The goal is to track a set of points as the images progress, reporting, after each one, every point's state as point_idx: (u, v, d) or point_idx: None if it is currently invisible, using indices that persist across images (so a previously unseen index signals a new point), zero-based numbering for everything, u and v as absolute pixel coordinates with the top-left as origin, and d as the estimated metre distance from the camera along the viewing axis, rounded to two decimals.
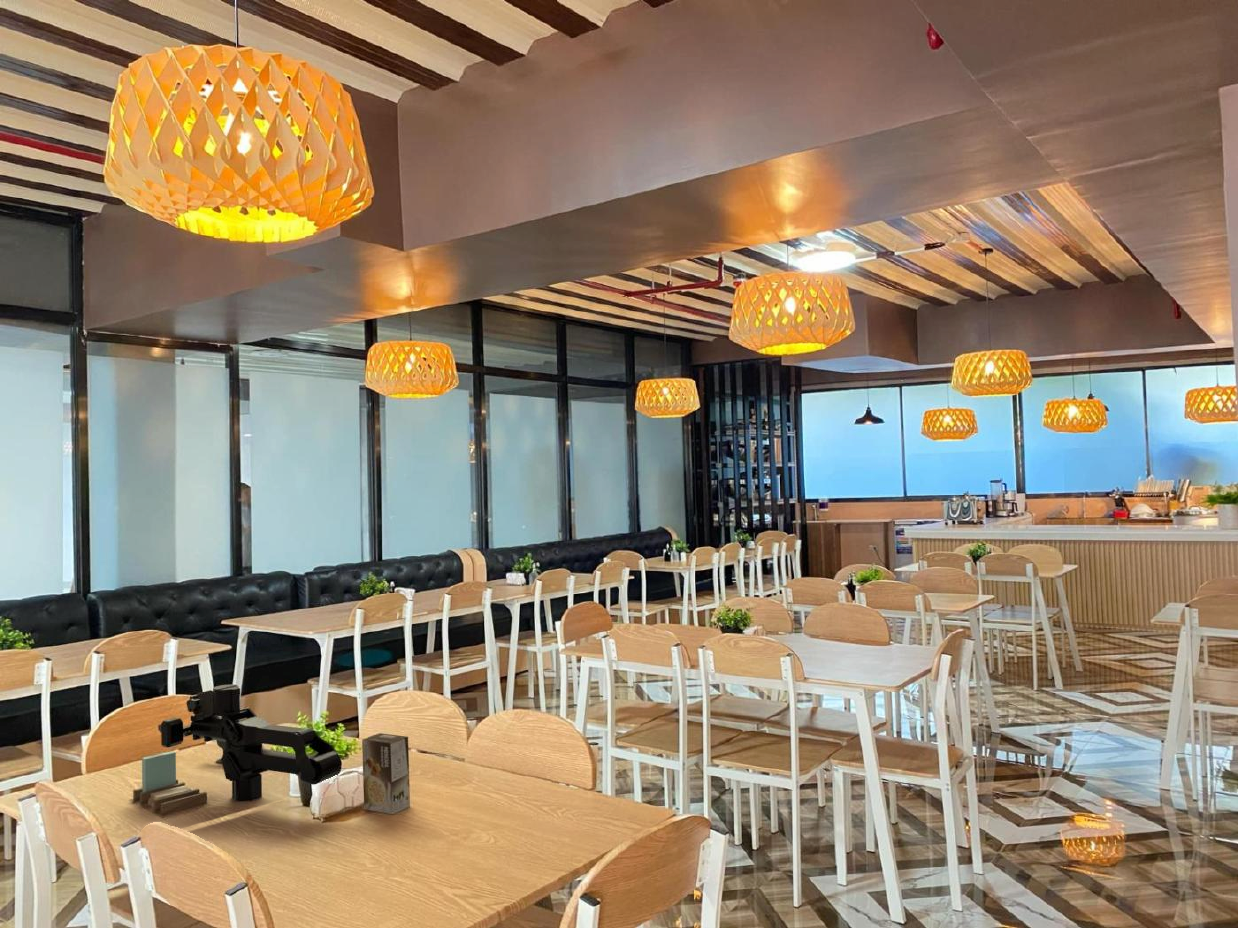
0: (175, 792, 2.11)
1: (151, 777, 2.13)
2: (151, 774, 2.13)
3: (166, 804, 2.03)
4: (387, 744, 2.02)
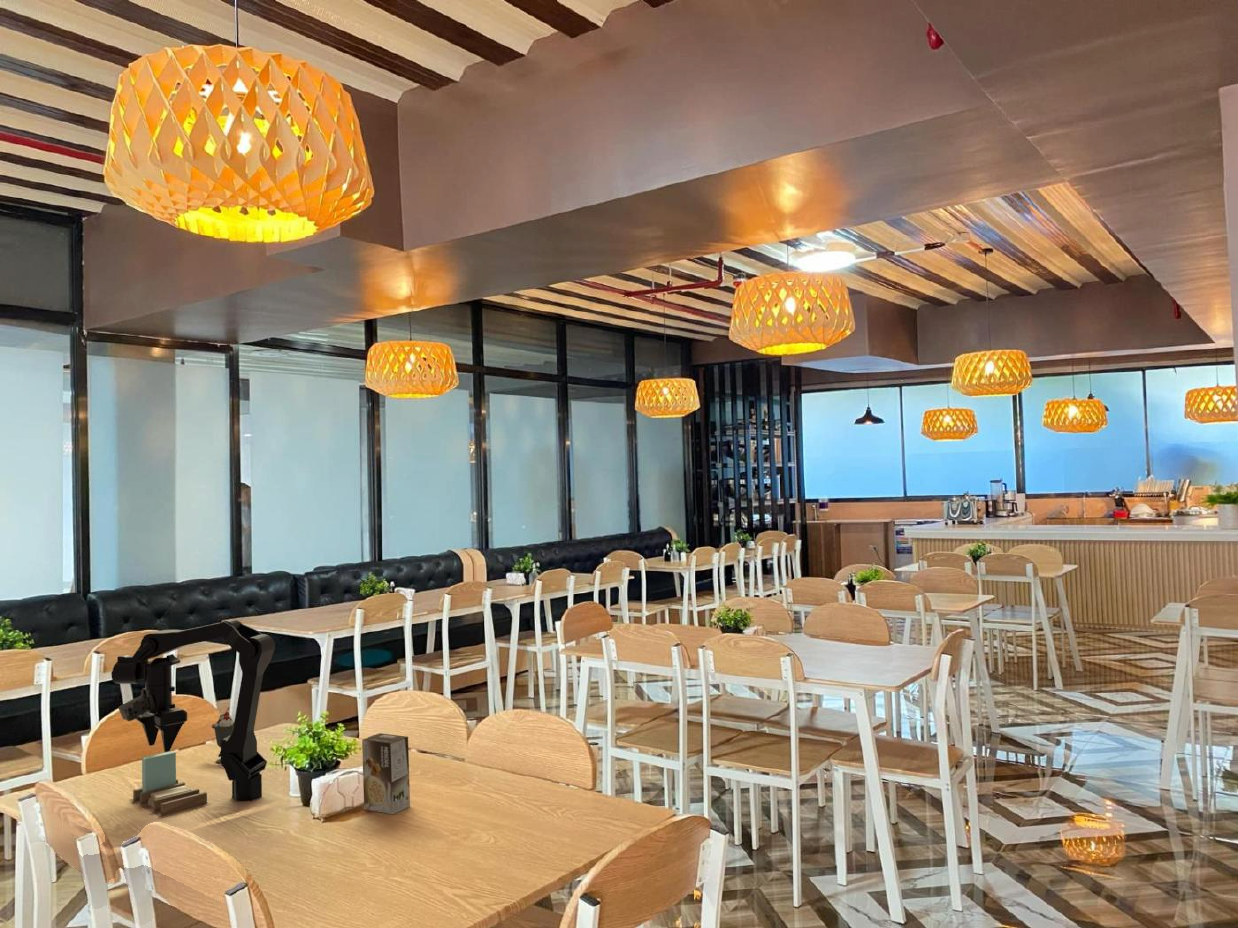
0: (175, 792, 2.11)
1: (151, 777, 2.13)
2: (151, 774, 2.13)
3: (166, 804, 2.03)
4: (387, 744, 2.02)
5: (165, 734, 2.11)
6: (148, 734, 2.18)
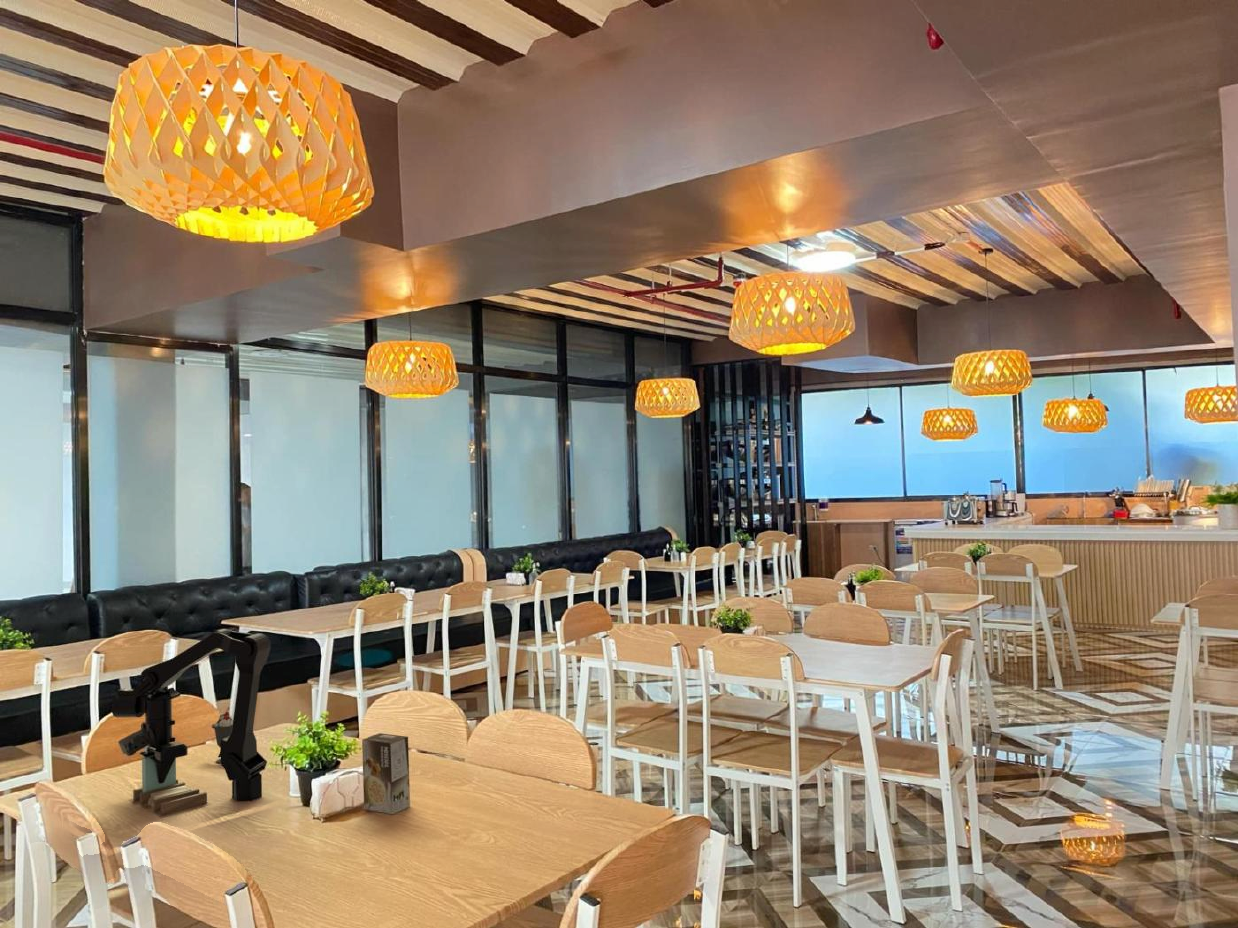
0: (175, 792, 2.11)
1: (151, 777, 2.13)
2: (151, 774, 2.13)
3: (166, 804, 2.03)
4: (387, 744, 2.02)
5: (159, 766, 2.13)
6: None
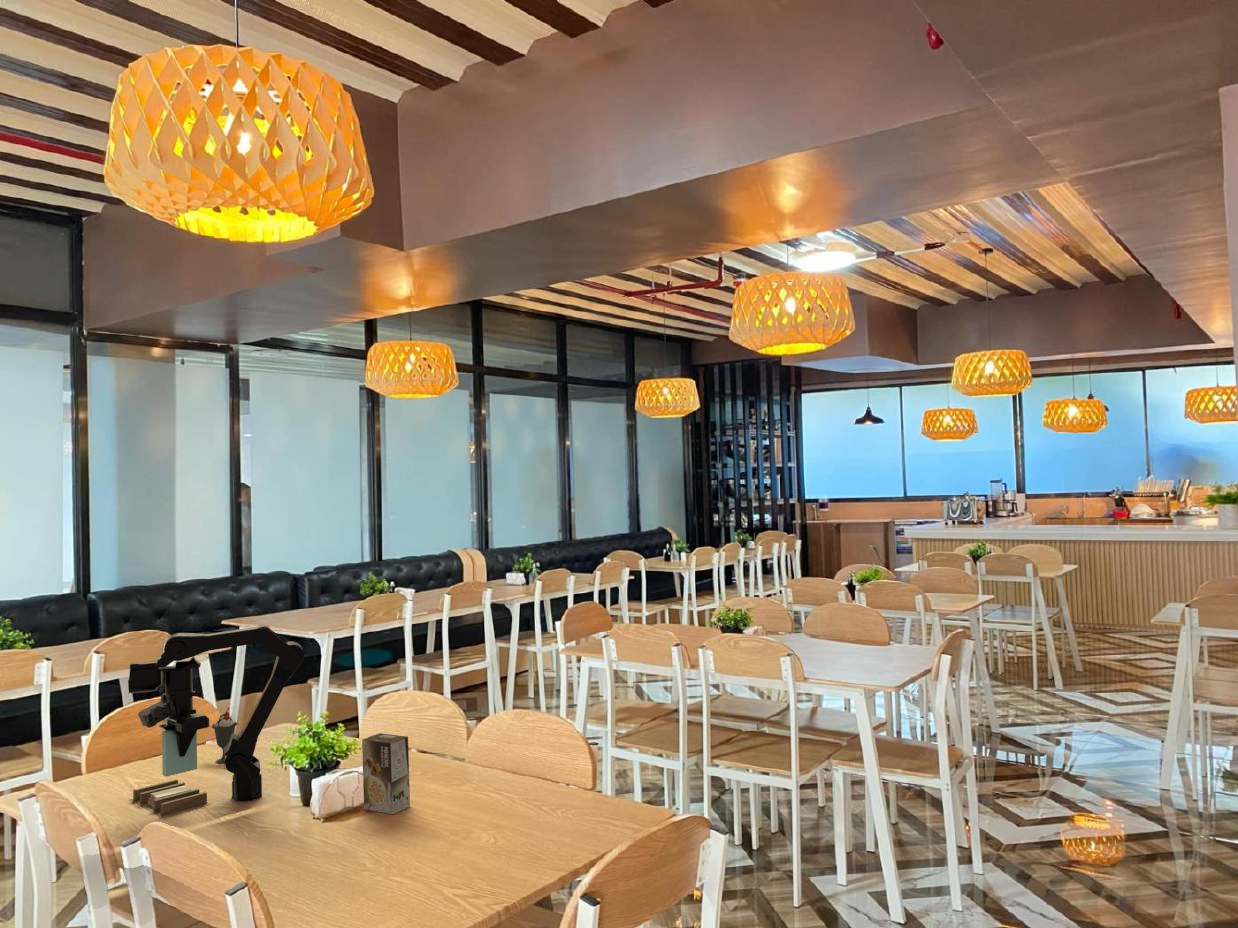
0: (175, 792, 2.11)
1: (171, 751, 2.06)
2: (171, 748, 2.06)
3: (166, 804, 2.03)
4: (387, 744, 2.02)
5: (180, 739, 2.06)
6: None
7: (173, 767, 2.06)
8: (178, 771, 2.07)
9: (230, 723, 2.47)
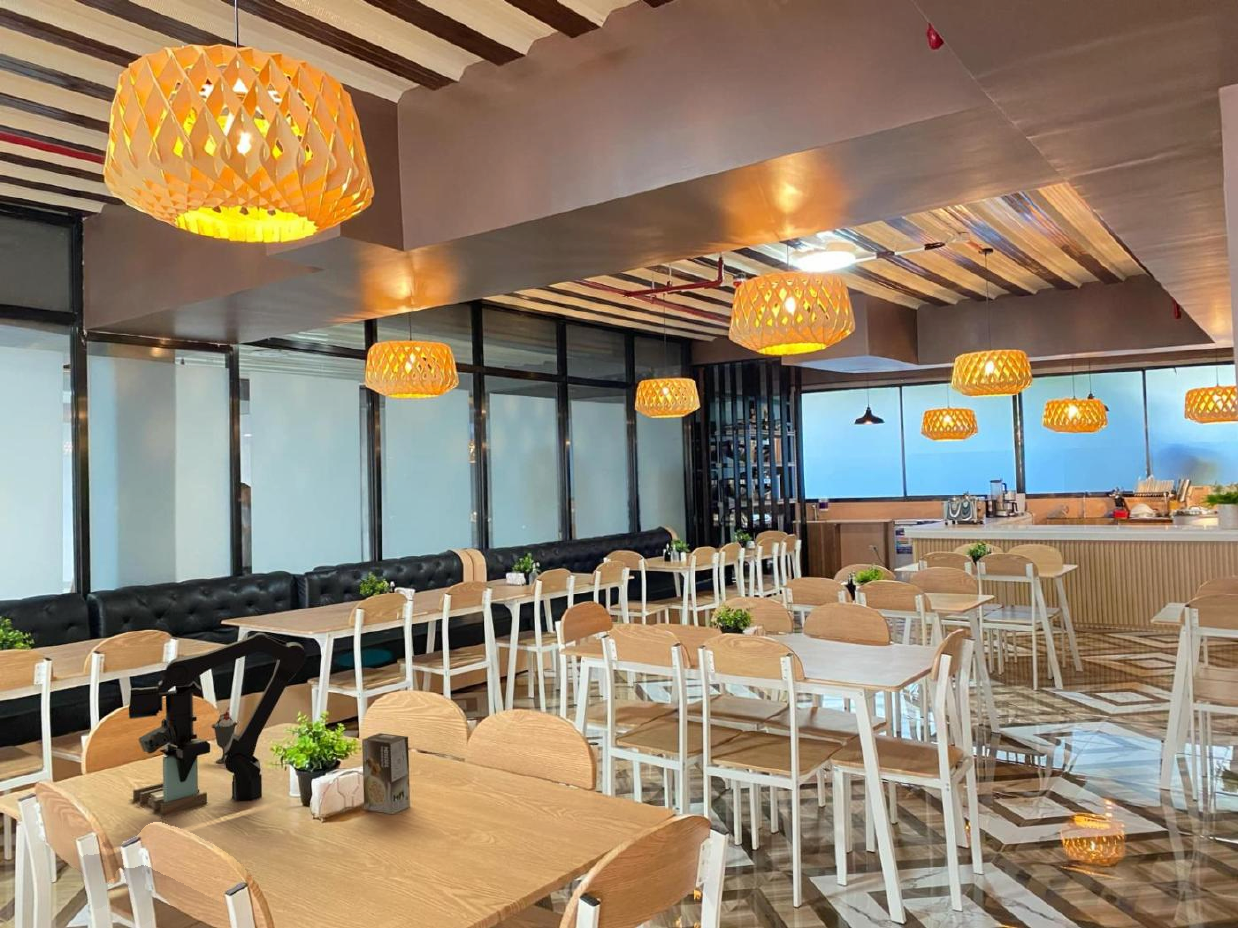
0: None
1: (172, 777, 2.05)
2: (172, 774, 2.06)
3: (166, 804, 2.03)
4: (387, 744, 2.02)
5: (181, 764, 2.05)
6: None
7: (174, 793, 2.06)
8: (179, 797, 2.06)
9: (230, 723, 2.47)
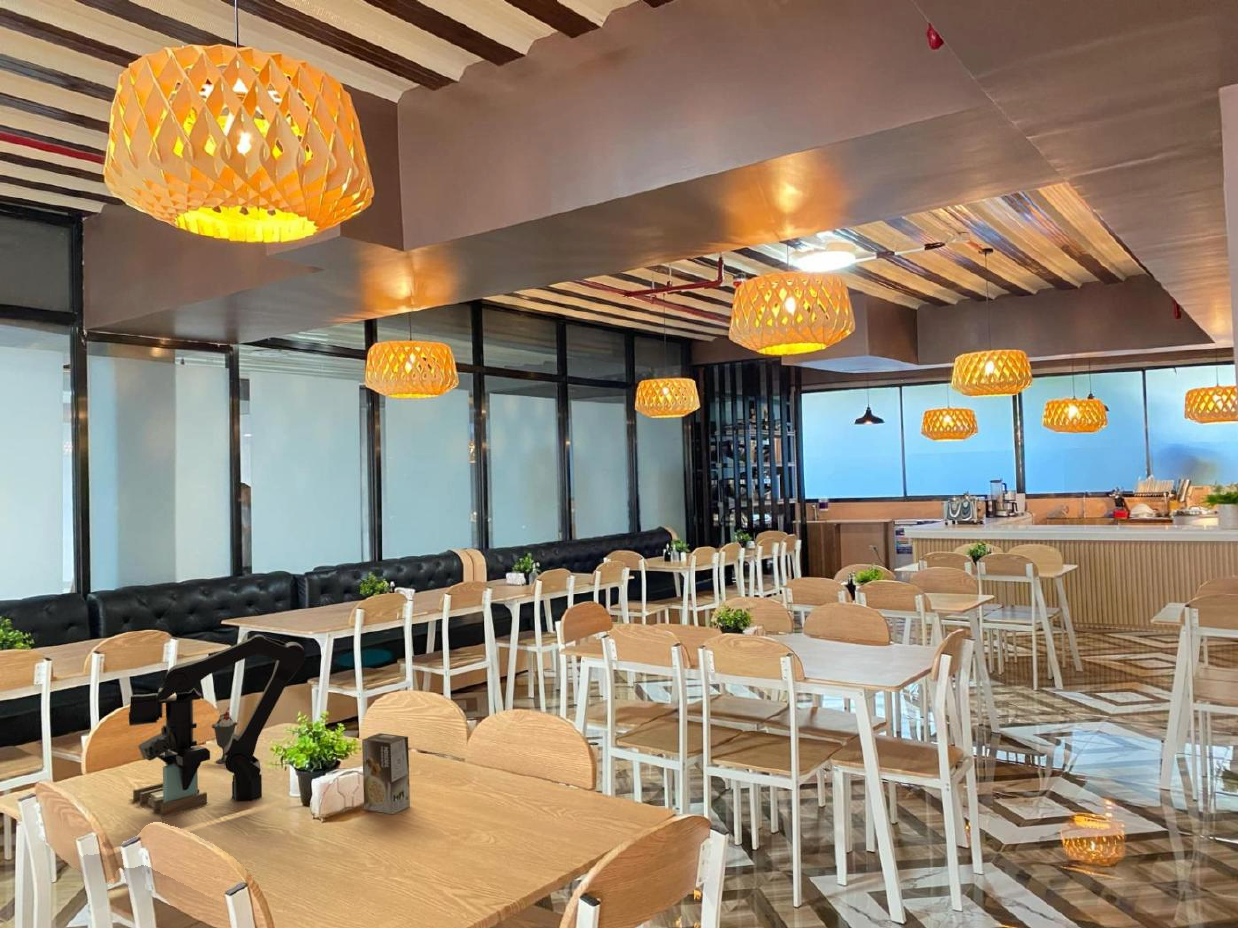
0: None
1: (172, 787, 2.05)
2: (172, 784, 2.05)
3: (166, 804, 2.03)
4: (387, 744, 2.02)
5: (184, 772, 2.04)
6: None
7: None
8: None
9: (230, 723, 2.47)
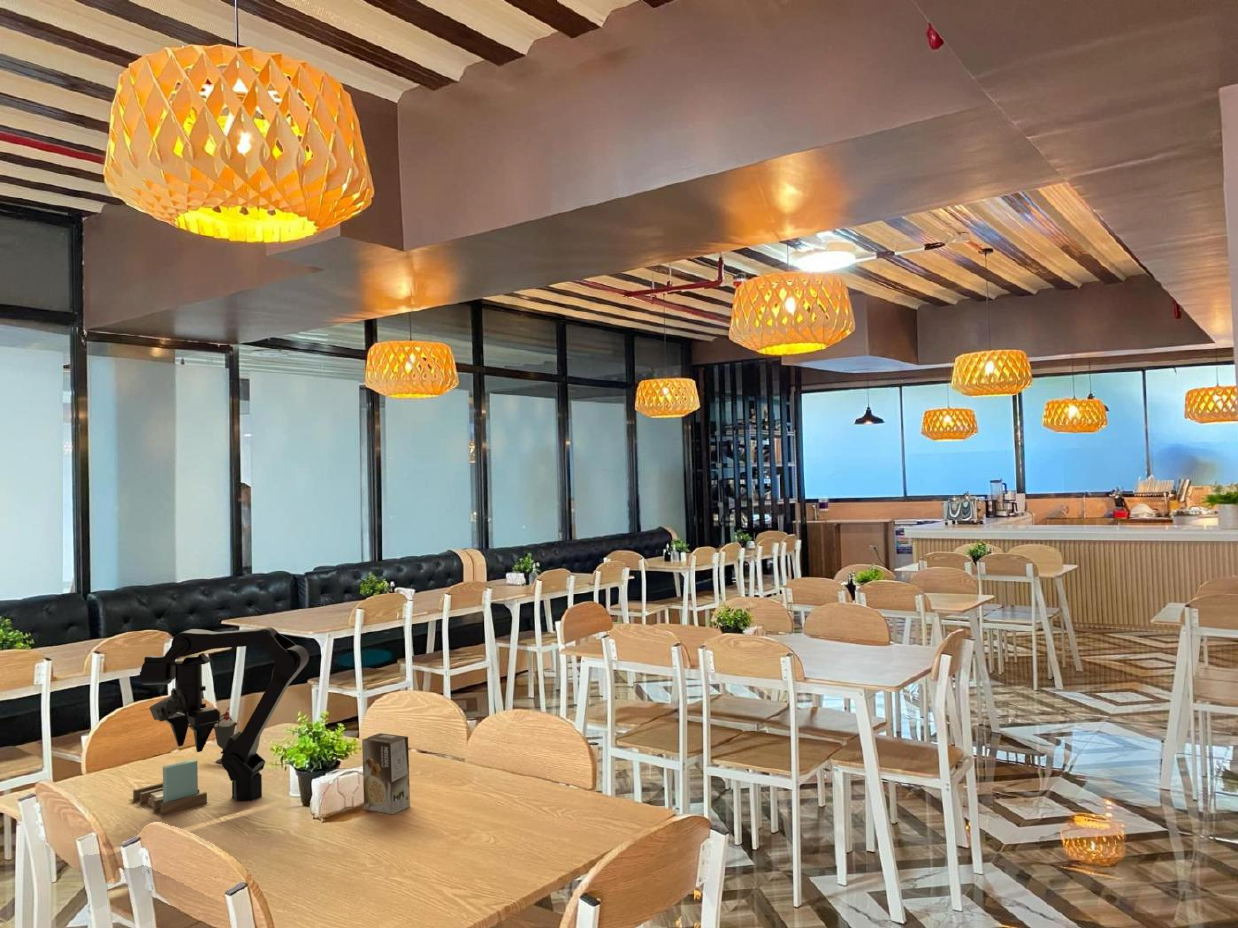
0: None
1: (172, 787, 2.05)
2: (172, 784, 2.05)
3: (166, 804, 2.03)
4: (387, 744, 2.02)
5: (198, 734, 2.09)
6: (177, 735, 2.16)
7: None
8: None
9: (230, 723, 2.47)
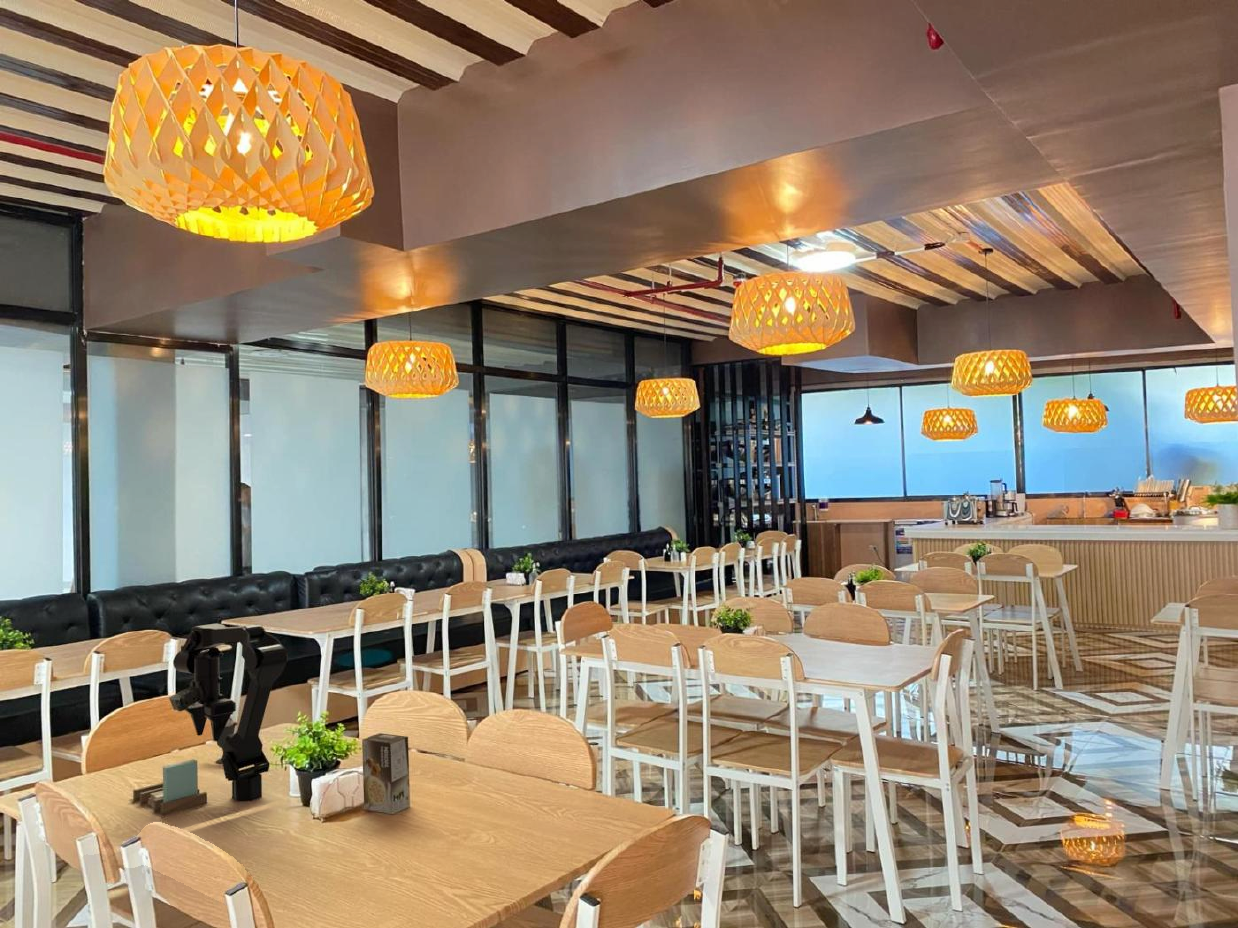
0: None
1: (172, 787, 2.05)
2: (172, 784, 2.05)
3: (166, 804, 2.03)
4: (387, 744, 2.02)
5: (215, 724, 2.18)
6: (196, 724, 2.25)
7: None
8: None
9: (230, 723, 2.47)
